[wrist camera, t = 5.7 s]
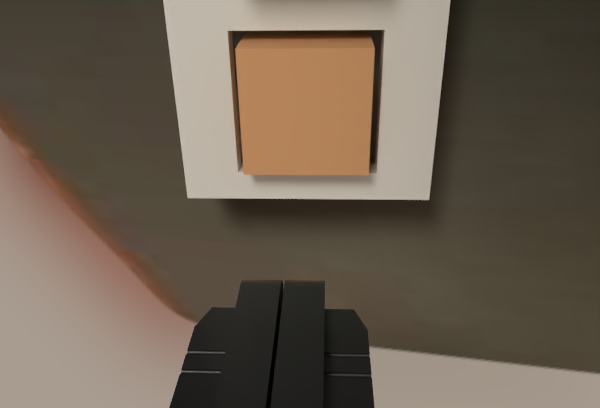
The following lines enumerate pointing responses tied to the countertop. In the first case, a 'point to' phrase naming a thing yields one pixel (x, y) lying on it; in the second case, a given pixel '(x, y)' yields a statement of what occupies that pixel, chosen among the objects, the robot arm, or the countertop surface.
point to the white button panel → (309, 17)
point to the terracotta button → (305, 101)
